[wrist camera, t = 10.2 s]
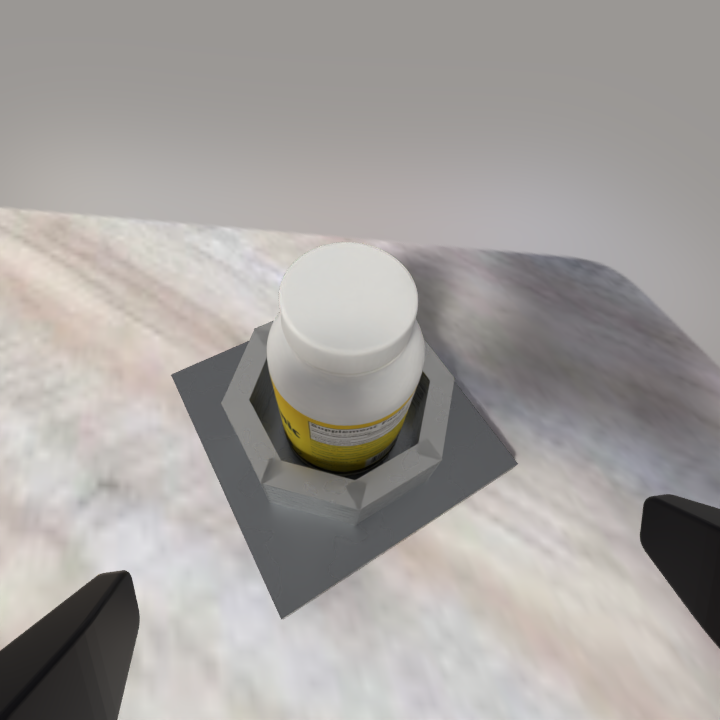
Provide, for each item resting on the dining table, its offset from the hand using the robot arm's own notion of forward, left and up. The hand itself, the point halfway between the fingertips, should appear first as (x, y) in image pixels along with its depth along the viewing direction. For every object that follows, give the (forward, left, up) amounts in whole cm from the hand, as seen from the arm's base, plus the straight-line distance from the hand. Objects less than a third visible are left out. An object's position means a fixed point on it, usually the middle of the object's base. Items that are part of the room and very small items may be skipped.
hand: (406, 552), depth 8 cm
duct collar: (+3, +7, -12) cm, 14 cm away
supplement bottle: (+3, +7, -12) cm, 14 cm away
